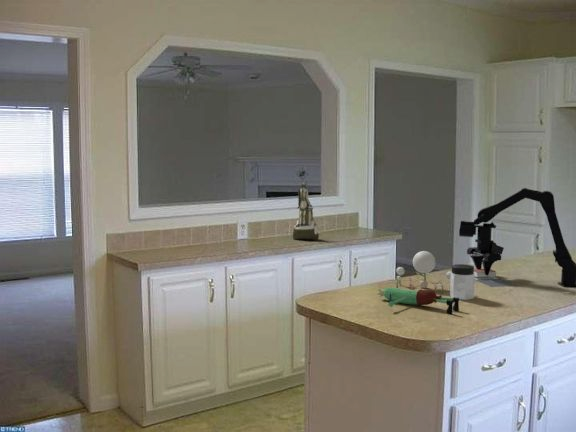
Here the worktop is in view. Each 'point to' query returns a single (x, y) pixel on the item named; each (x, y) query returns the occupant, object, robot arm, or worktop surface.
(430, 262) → the figurines
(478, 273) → the card deck
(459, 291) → the jar
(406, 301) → the toy
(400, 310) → the worktop surface
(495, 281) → the mat
